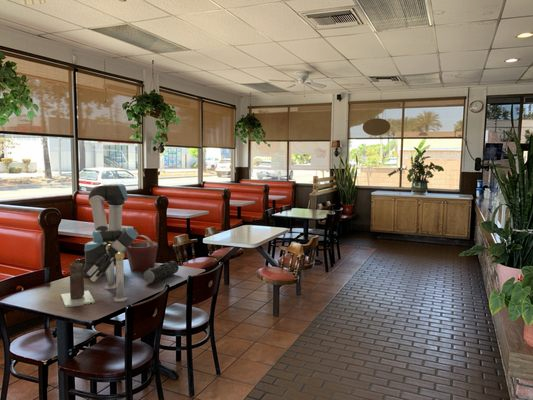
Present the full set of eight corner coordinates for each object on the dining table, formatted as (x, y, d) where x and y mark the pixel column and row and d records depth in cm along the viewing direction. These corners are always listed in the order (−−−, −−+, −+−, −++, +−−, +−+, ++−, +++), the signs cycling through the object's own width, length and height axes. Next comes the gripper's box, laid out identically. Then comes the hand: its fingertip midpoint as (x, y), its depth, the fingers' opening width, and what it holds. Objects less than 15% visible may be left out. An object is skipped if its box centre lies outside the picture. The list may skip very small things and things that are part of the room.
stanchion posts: (115, 302, 237) (114, 254, 235) (103, 287, 265) (102, 243, 262) (128, 300, 241) (127, 252, 238) (115, 285, 269) (114, 242, 266)
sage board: (65, 307, 229) (65, 305, 229) (60, 296, 247) (60, 294, 247) (94, 303, 237) (94, 300, 237) (88, 292, 255) (88, 290, 255)
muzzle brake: (179, 275, 295) (179, 261, 294) (154, 286, 269) (154, 270, 268) (167, 273, 299) (167, 259, 298) (142, 284, 273) (142, 268, 272)
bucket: (122, 267, 313) (122, 234, 310) (151, 263, 326) (150, 231, 324) (134, 275, 293) (134, 240, 291) (164, 270, 307) (164, 236, 304)
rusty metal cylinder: (73, 295, 246) (72, 261, 244) (86, 295, 246) (85, 261, 244) (68, 299, 238) (67, 265, 236) (81, 299, 239) (80, 264, 237)
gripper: (125, 257, 242) (98, 287, 235) (116, 249, 263) (91, 276, 257) (115, 249, 238) (88, 279, 232) (107, 241, 260) (81, 268, 253)
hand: (90, 277), depth 244 cm, fingers open, 13 cm apart
